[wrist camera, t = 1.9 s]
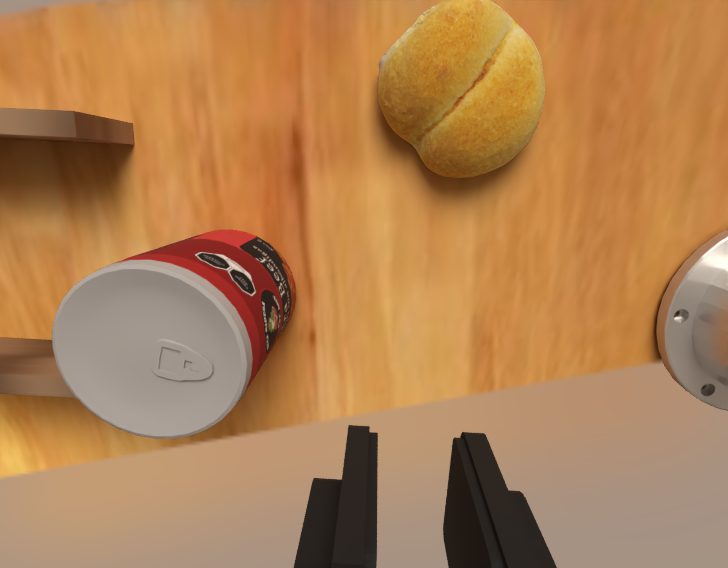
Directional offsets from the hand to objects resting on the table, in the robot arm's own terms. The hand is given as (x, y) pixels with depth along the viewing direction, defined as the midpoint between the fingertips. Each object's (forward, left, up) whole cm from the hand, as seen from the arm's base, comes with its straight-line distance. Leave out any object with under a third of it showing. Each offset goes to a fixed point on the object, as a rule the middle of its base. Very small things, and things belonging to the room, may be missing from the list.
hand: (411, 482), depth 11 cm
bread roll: (-3, -12, -18) cm, 22 cm away
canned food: (+10, 0, -17) cm, 20 cm away
